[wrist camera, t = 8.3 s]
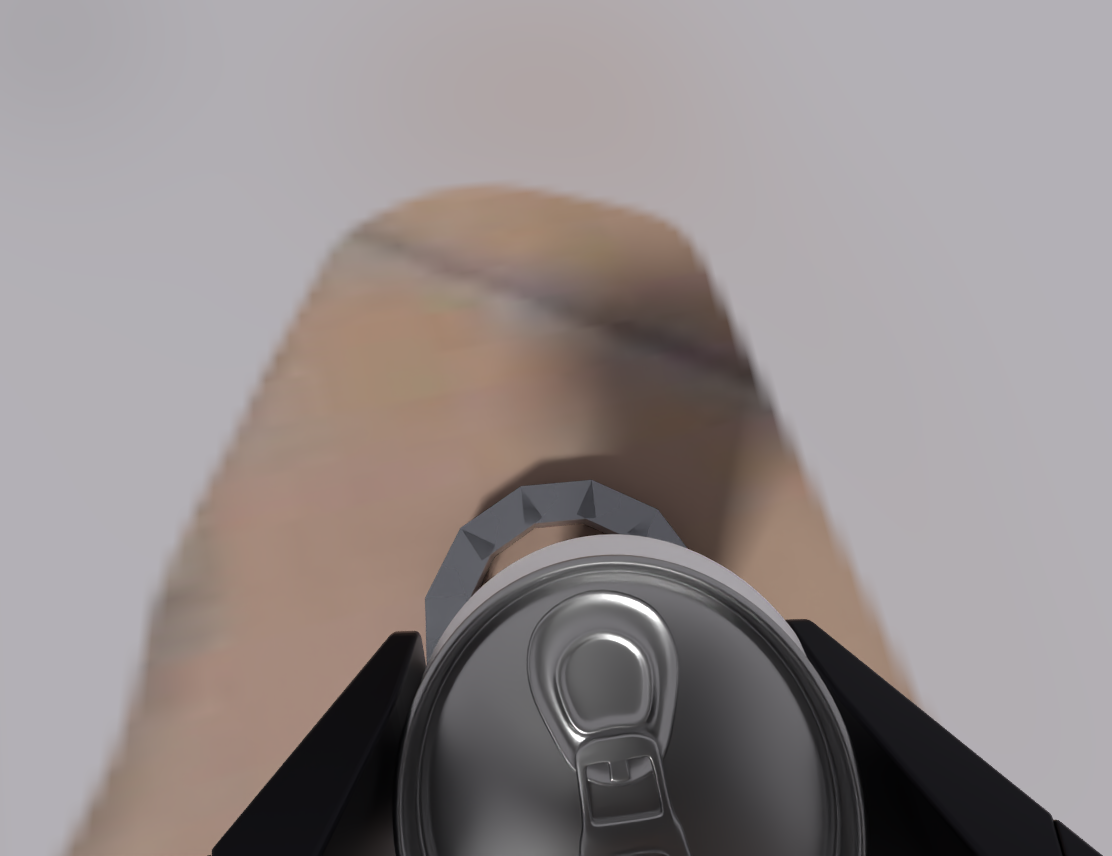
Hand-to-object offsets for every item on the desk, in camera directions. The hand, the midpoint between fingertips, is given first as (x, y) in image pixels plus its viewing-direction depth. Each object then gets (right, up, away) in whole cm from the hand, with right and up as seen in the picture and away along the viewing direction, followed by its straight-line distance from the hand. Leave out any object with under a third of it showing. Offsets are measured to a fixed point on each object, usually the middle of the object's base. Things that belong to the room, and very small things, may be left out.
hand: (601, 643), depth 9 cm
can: (+1, -4, +9) cm, 10 cm away
